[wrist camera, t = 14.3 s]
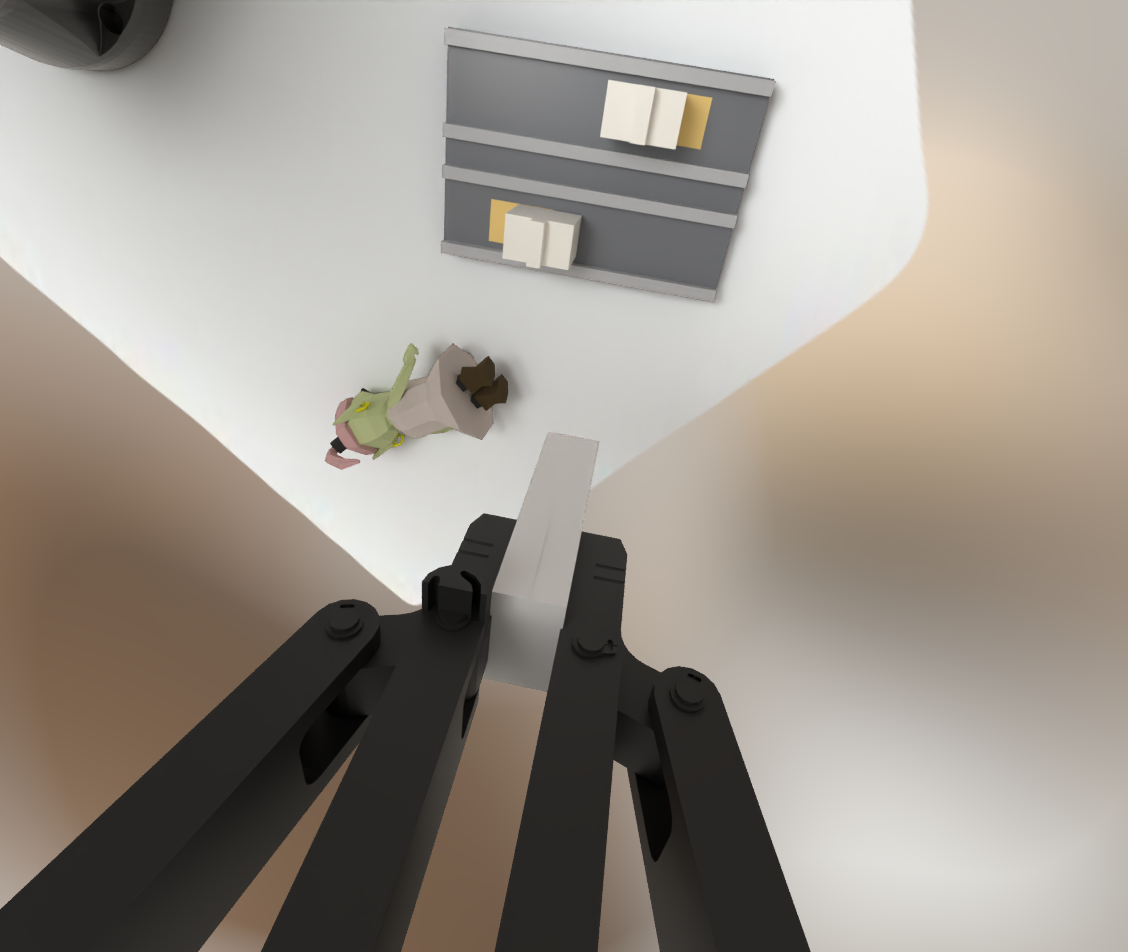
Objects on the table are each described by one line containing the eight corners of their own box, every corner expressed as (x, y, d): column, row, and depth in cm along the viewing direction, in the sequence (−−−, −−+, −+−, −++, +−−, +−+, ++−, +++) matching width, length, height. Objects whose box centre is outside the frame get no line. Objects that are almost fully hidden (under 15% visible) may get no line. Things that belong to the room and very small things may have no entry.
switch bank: (450, 247, 40) (440, 254, 38) (456, 29, 33) (444, 25, 31) (711, 294, 39) (712, 303, 37) (770, 79, 32) (776, 78, 30)
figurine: (469, 304, 40) (309, 367, 46) (452, 379, 36) (277, 439, 41) (528, 386, 46) (381, 433, 52) (520, 459, 42) (360, 502, 48)
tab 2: (605, 133, 33) (598, 137, 30) (613, 81, 32) (607, 79, 28) (674, 145, 33) (675, 150, 30) (685, 93, 32) (688, 92, 28)
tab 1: (515, 246, 37) (499, 261, 34) (518, 204, 36) (502, 215, 33) (575, 256, 37) (566, 273, 34) (581, 215, 36) (572, 228, 32)
